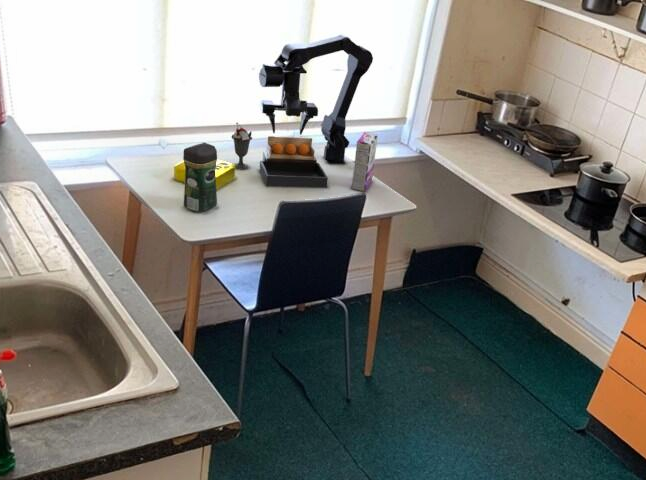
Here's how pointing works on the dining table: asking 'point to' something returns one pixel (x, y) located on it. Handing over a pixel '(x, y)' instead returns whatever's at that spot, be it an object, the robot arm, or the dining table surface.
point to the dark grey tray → (293, 174)
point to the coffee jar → (200, 177)
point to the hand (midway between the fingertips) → (287, 133)
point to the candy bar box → (364, 161)
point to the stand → (267, 158)
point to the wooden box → (285, 141)
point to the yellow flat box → (223, 172)
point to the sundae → (241, 145)
